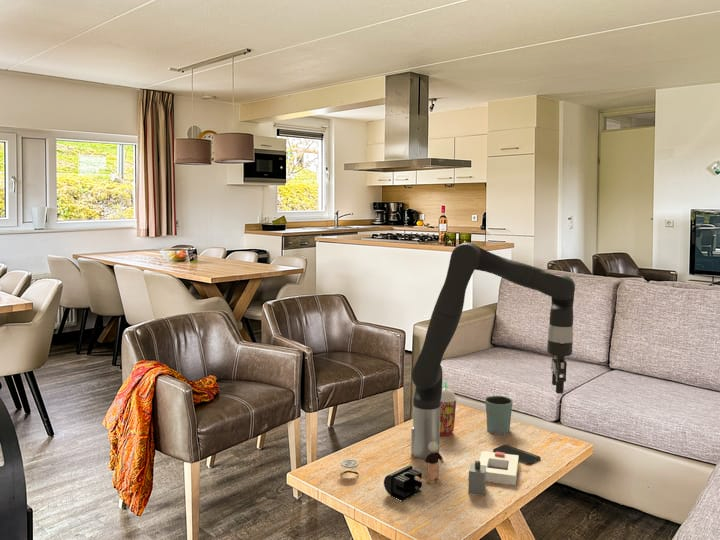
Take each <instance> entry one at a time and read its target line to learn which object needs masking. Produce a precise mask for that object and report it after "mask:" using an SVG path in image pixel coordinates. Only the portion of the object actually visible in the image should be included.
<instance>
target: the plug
mask: <svg viewBox="0 0 720 540" xmlns="http://www.w3.org/2000/svg"><path fill="white" fill-rule="evenodd" d="M469 466H470V467H469V469H468V491H467V492H468V494H469V495H470V494H471V495H477V496H485V491H486V485H487V484H486V482H487V481H486V466H485V465H480V461H479V460H475V461H474V463H470V465H469Z"/></svg>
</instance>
